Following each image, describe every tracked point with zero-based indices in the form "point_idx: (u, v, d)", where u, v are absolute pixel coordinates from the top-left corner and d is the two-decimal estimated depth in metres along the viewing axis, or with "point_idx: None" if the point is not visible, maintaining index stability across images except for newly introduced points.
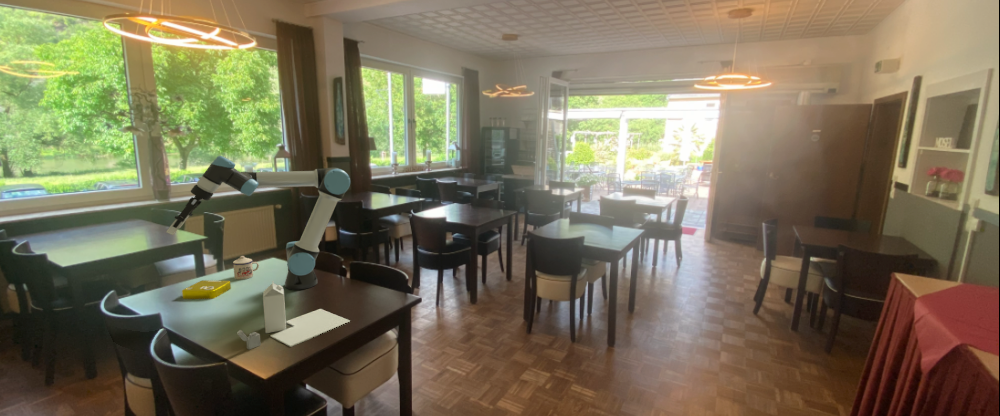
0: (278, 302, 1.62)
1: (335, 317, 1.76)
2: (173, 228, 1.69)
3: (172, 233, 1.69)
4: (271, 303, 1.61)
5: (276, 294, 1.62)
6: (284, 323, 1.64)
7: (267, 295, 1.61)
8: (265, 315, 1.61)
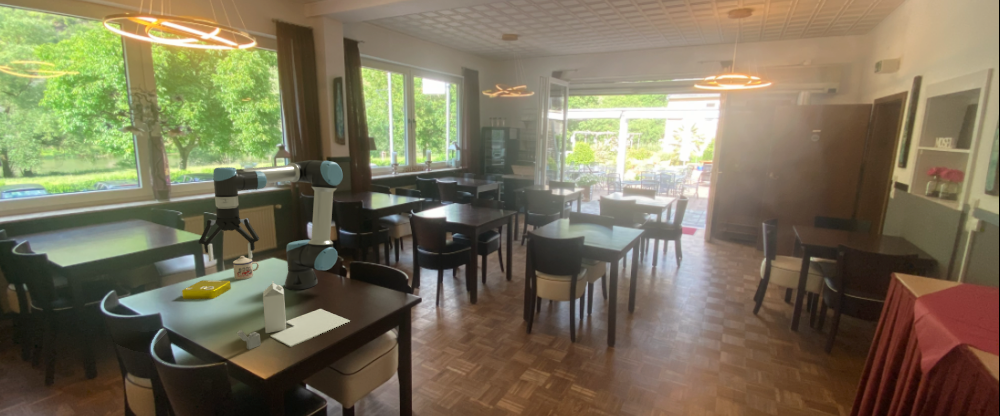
0: (278, 302, 1.62)
1: (335, 317, 1.76)
2: (251, 252, 1.68)
3: None
4: (271, 303, 1.61)
5: (276, 294, 1.62)
6: (284, 323, 1.64)
7: (267, 295, 1.61)
8: (265, 315, 1.61)
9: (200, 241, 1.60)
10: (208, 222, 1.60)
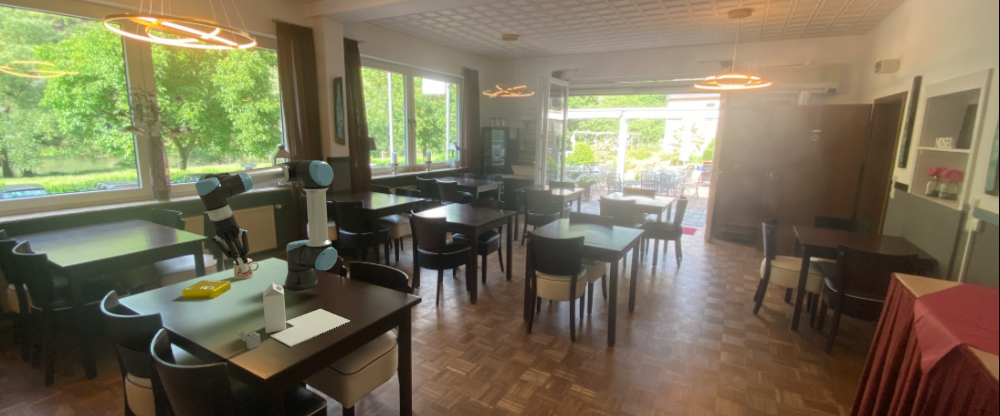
0: (278, 302, 1.62)
1: (335, 317, 1.76)
2: (245, 264, 1.67)
3: (248, 268, 1.68)
4: (271, 303, 1.61)
5: (276, 294, 1.62)
6: (284, 323, 1.64)
7: (267, 295, 1.61)
8: (265, 315, 1.61)
9: (228, 256, 1.63)
10: (213, 240, 1.60)
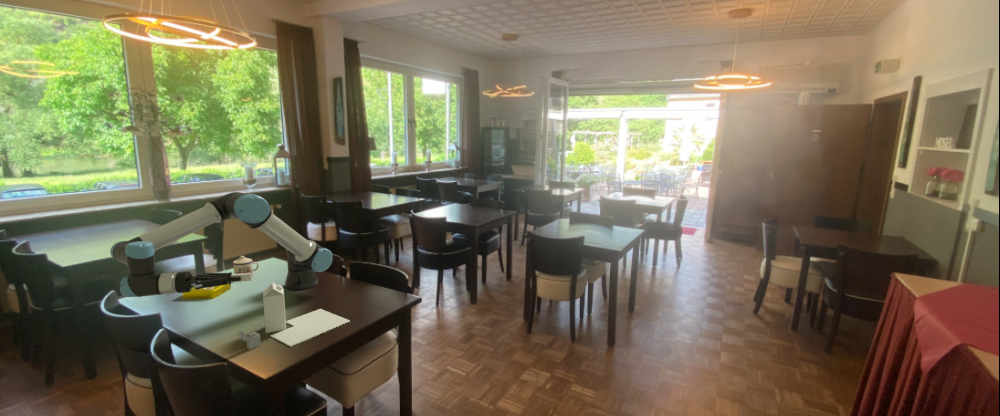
0: (278, 302, 1.62)
1: (335, 317, 1.76)
2: (243, 277, 1.58)
3: (249, 275, 1.59)
4: (271, 303, 1.61)
5: (276, 294, 1.62)
6: (284, 323, 1.64)
7: (267, 295, 1.61)
8: (265, 315, 1.61)
9: None
10: None
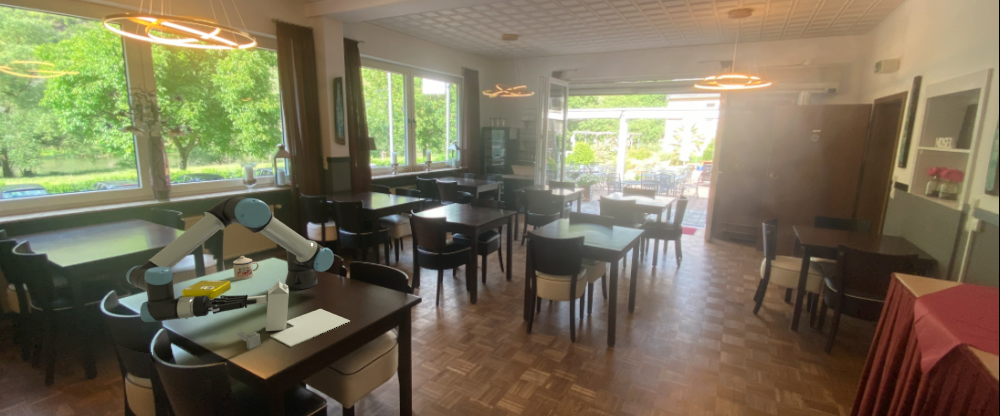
0: (282, 301, 1.63)
1: (335, 317, 1.76)
2: (258, 300, 1.61)
3: (264, 297, 1.62)
4: (275, 301, 1.61)
5: (282, 293, 1.63)
6: (285, 323, 1.64)
7: (272, 293, 1.61)
8: (268, 313, 1.61)
9: None
10: None
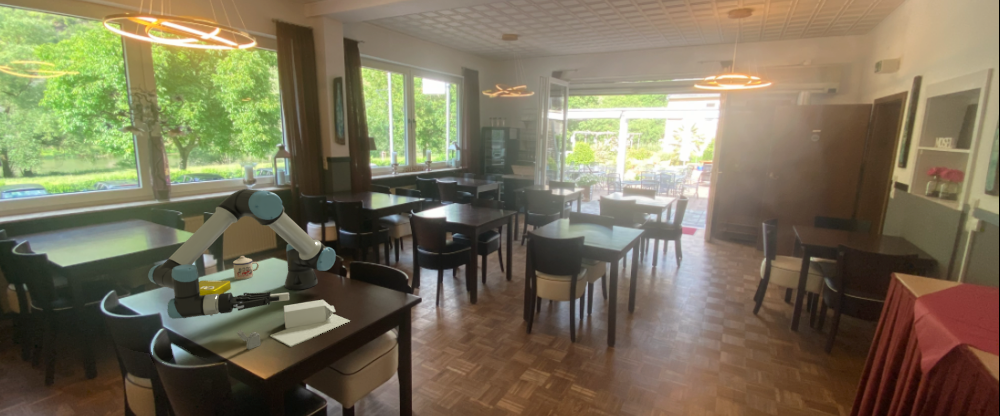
0: (317, 318, 1.70)
1: (335, 317, 1.76)
2: (281, 297, 1.64)
3: (286, 295, 1.65)
4: (317, 313, 1.70)
5: (325, 315, 1.72)
6: (293, 326, 1.66)
7: (325, 308, 1.72)
8: (305, 309, 1.67)
9: None
10: None
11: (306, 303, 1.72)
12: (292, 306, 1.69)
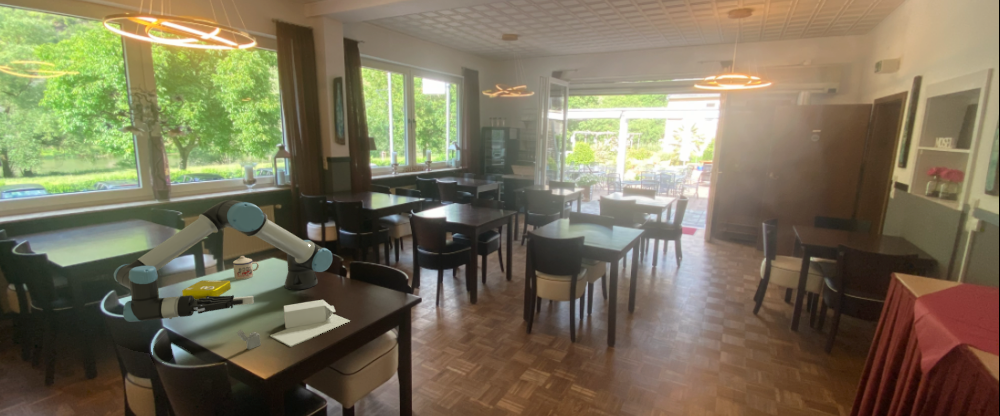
0: (317, 318, 1.70)
1: (335, 317, 1.76)
2: (245, 300, 1.60)
3: (250, 298, 1.61)
4: (317, 313, 1.70)
5: (325, 315, 1.72)
6: (293, 326, 1.66)
7: (325, 308, 1.72)
8: (305, 309, 1.67)
9: None
10: None
11: (306, 303, 1.72)
12: (292, 306, 1.69)
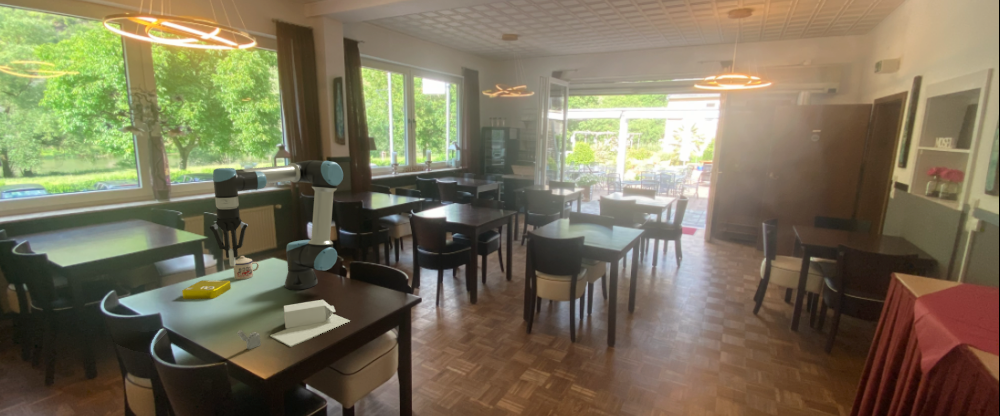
0: (317, 318, 1.70)
1: (335, 317, 1.76)
2: (234, 259, 1.67)
3: (235, 263, 1.68)
4: (317, 313, 1.70)
5: (325, 315, 1.72)
6: (293, 326, 1.66)
7: (325, 308, 1.72)
8: (305, 309, 1.67)
9: (220, 247, 1.63)
10: (211, 228, 1.61)
11: (306, 303, 1.72)
12: (292, 306, 1.69)
